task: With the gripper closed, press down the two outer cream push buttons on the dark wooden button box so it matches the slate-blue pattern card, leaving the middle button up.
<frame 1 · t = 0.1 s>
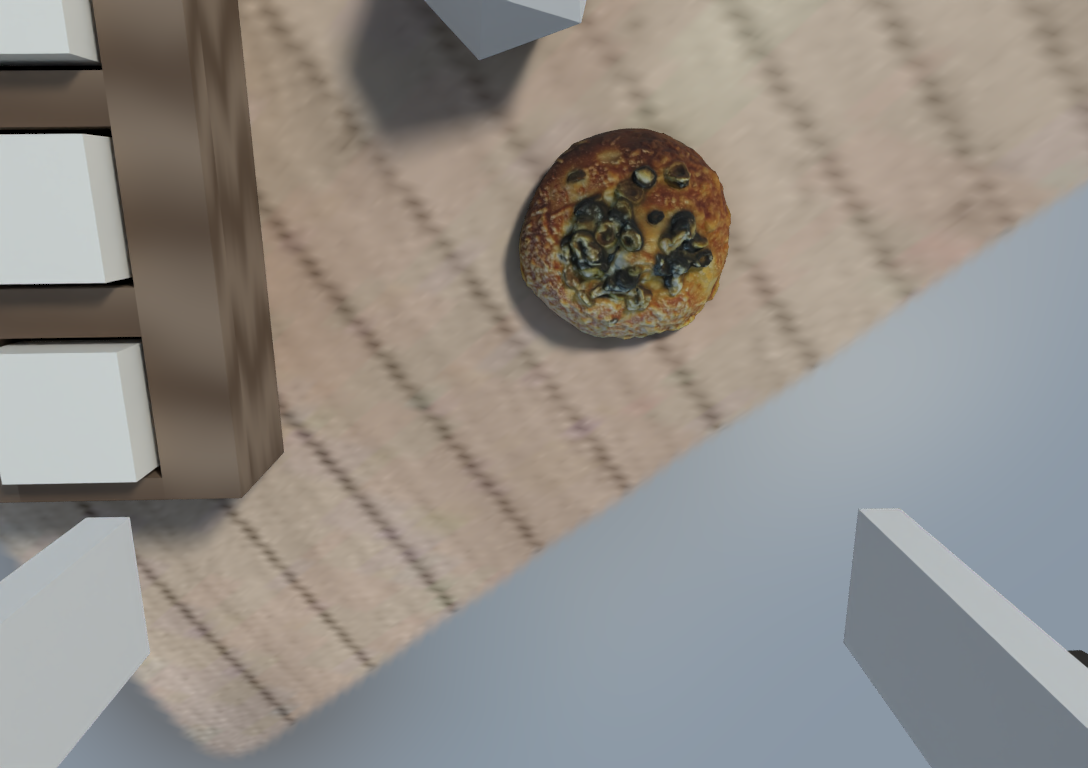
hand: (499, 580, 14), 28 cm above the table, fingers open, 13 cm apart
middle button: (43, 210, 32), point 6 cm above the table, slide at 0.0 cm
button box: (121, 206, 39), on the table
outer button: (77, 410, 35), point 6 cm above the table, slide at 0.0 cm
bread roll: (623, 239, 40), on the table
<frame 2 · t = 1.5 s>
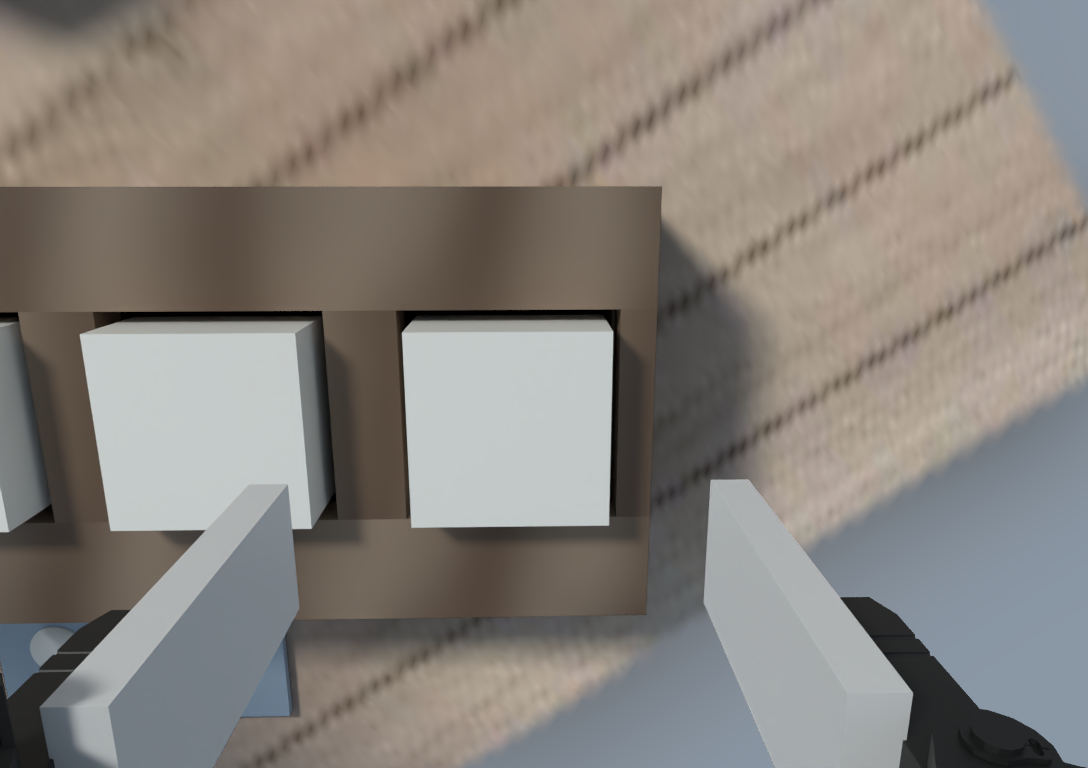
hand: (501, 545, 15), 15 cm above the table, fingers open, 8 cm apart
middle button: (220, 419, 23), point 6 cm above the table, slide at 0.0 cm
button box: (284, 371, 30), on the table
pattern card: (145, 642, 32), on the table
outer button: (510, 417, 24), point 6 cm above the table, slide at 0.0 cm
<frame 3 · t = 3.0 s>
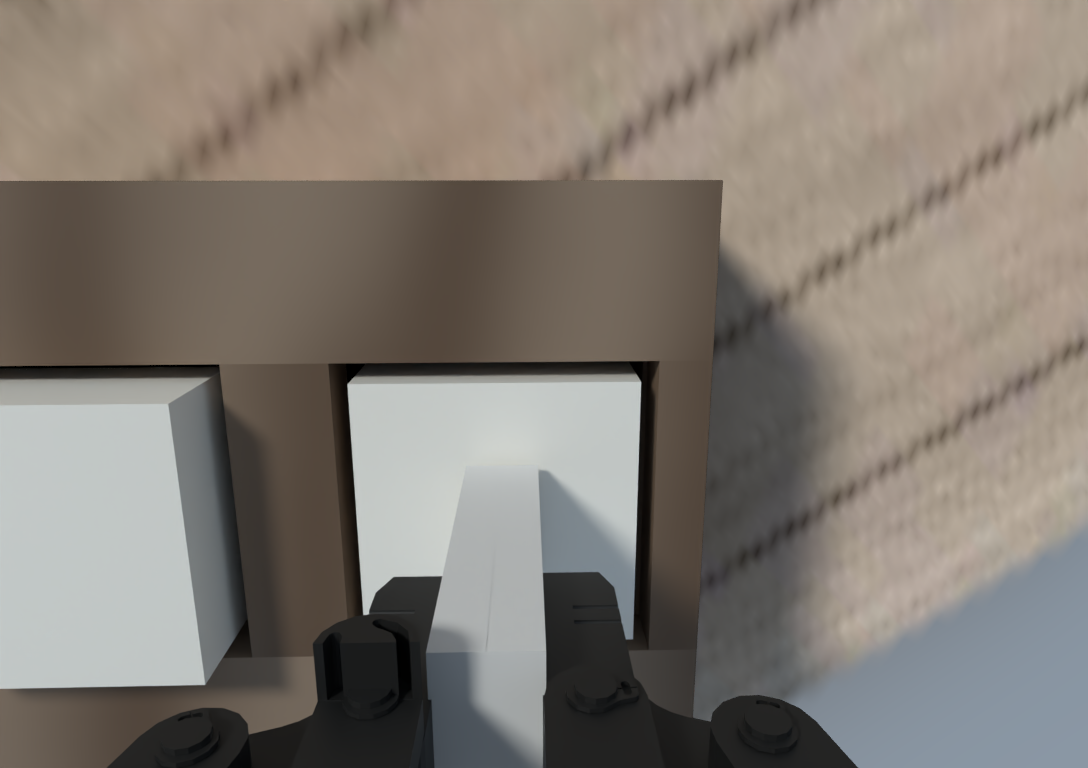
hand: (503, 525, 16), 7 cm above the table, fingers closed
middle button: (75, 520, 16), point 6 cm above the table, slide at 0.0 cm
button box: (201, 427, 22), on the table
outer button: (499, 491, 18), point 5 cm above the table, slide at 1.3 cm, touching gripper
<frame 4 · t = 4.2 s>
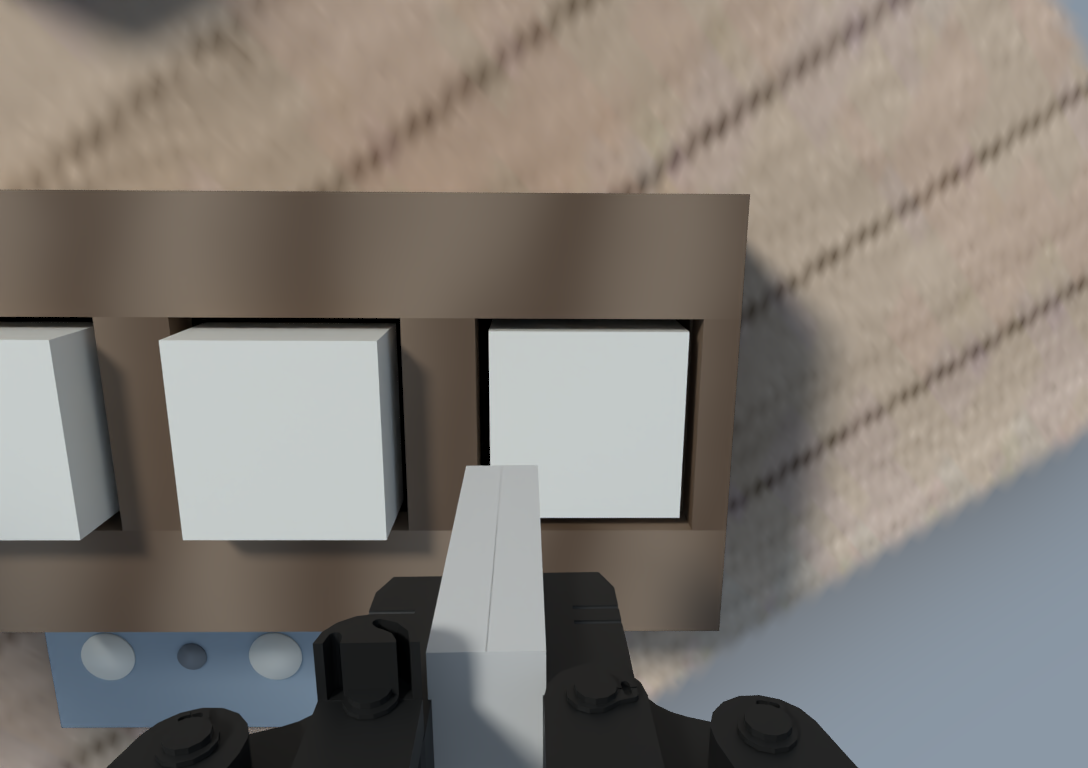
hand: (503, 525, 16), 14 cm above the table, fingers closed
middle button: (293, 428, 23), point 7 cm above the table, slide at 0.0 cm
button box: (344, 377, 29), on the table
pattern card: (196, 650, 32), on the table
outer button: (584, 413, 25), point 5 cm above the table, slide at 1.6 cm
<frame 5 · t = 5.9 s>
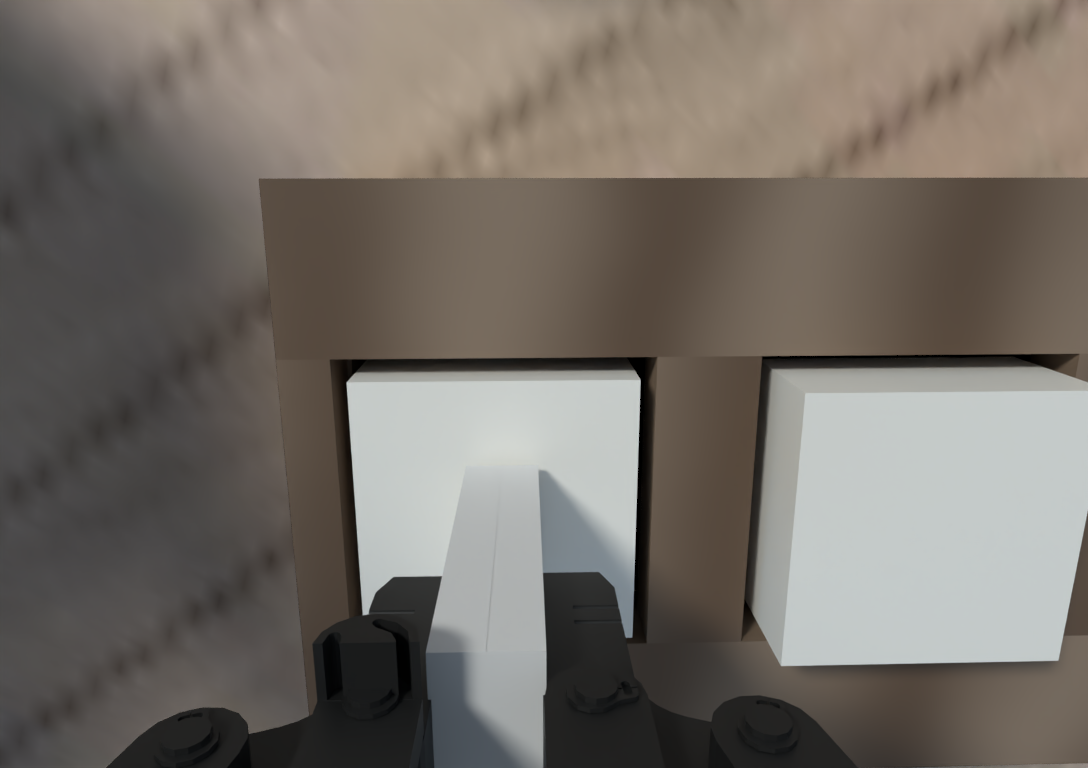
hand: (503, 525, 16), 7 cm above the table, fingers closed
middle button: (902, 504, 17), point 6 cm above the table, slide at 0.0 cm
button box: (798, 417, 23), on the table
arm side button: (498, 489, 18), point 5 cm above the table, slide at 1.1 cm, touching gripper
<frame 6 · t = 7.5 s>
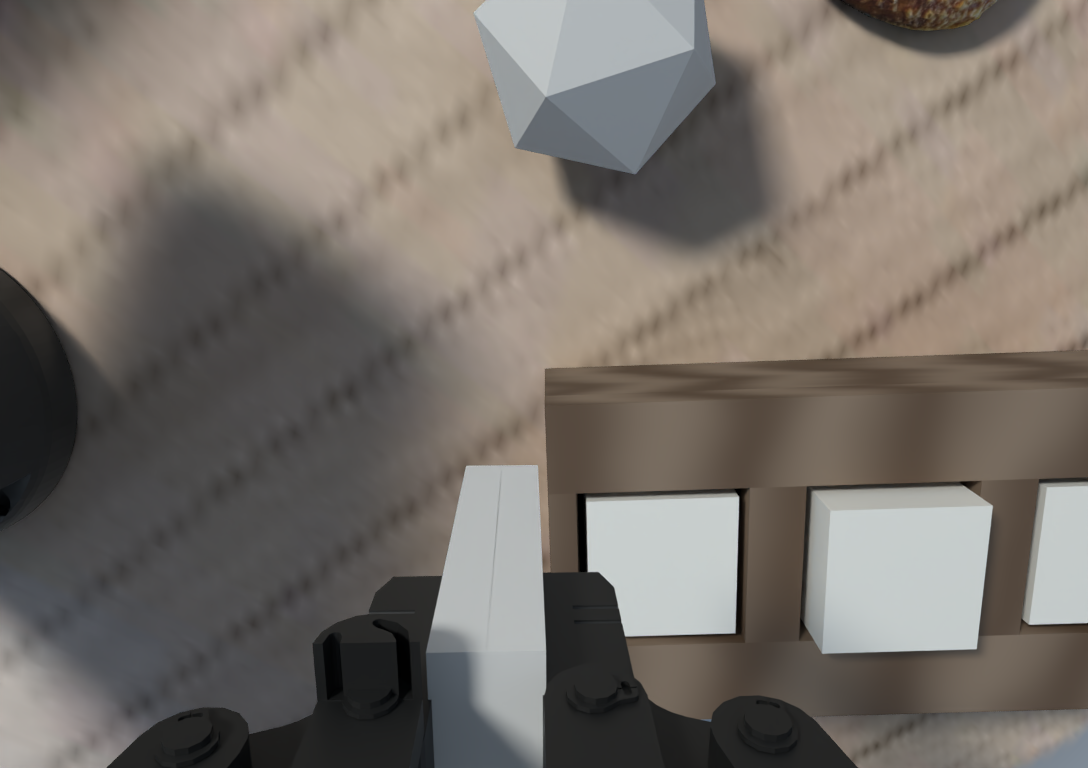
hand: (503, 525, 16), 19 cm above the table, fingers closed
middle button: (887, 563, 30), point 6 cm above the table, slide at 0.0 cm
button box: (828, 500, 36), on the table
outer button: (1087, 538, 32), point 5 cm above the table, slide at 1.6 cm
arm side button: (657, 552, 32), point 5 cm above the table, slide at 1.6 cm
die: (593, 67, 32), on the table
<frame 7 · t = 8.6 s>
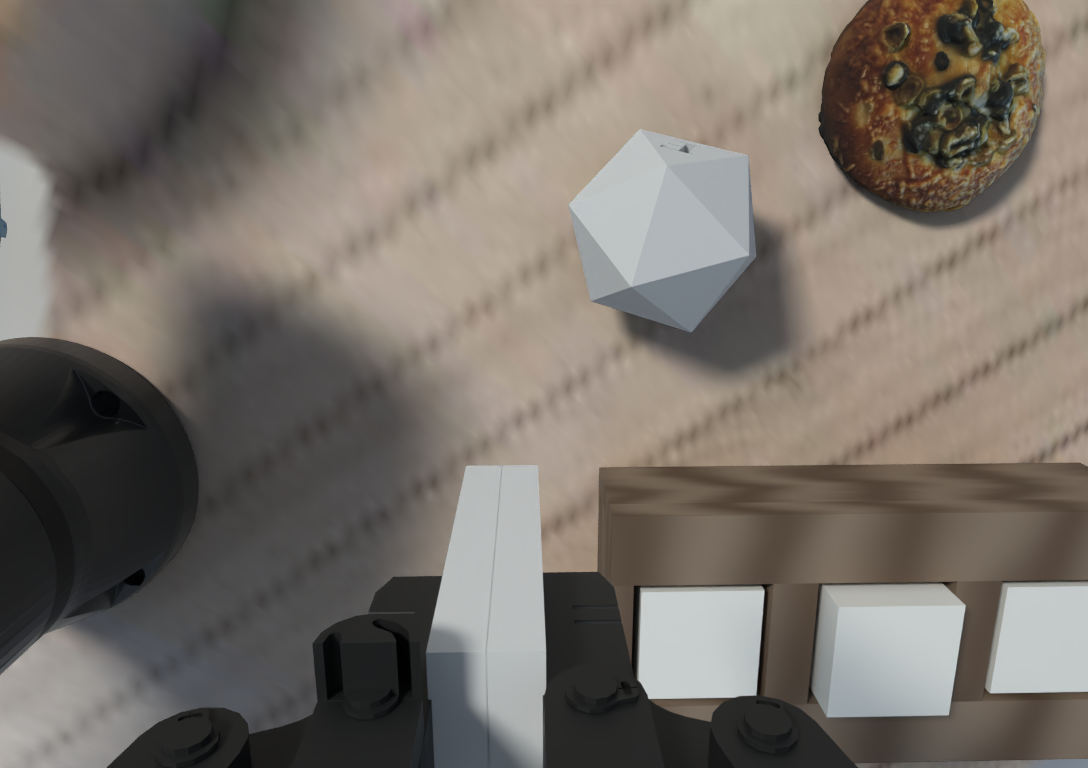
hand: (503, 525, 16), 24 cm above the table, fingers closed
middle button: (880, 644, 37), point 6 cm above the table, slide at 0.0 cm
button box: (829, 578, 44), on the table
outer button: (1038, 623, 39), point 5 cm above the table, slide at 1.6 cm
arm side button: (693, 628, 39), point 5 cm above the table, slide at 1.6 cm
die: (651, 227, 39), on the table
bread roll: (922, 96, 38), on the table
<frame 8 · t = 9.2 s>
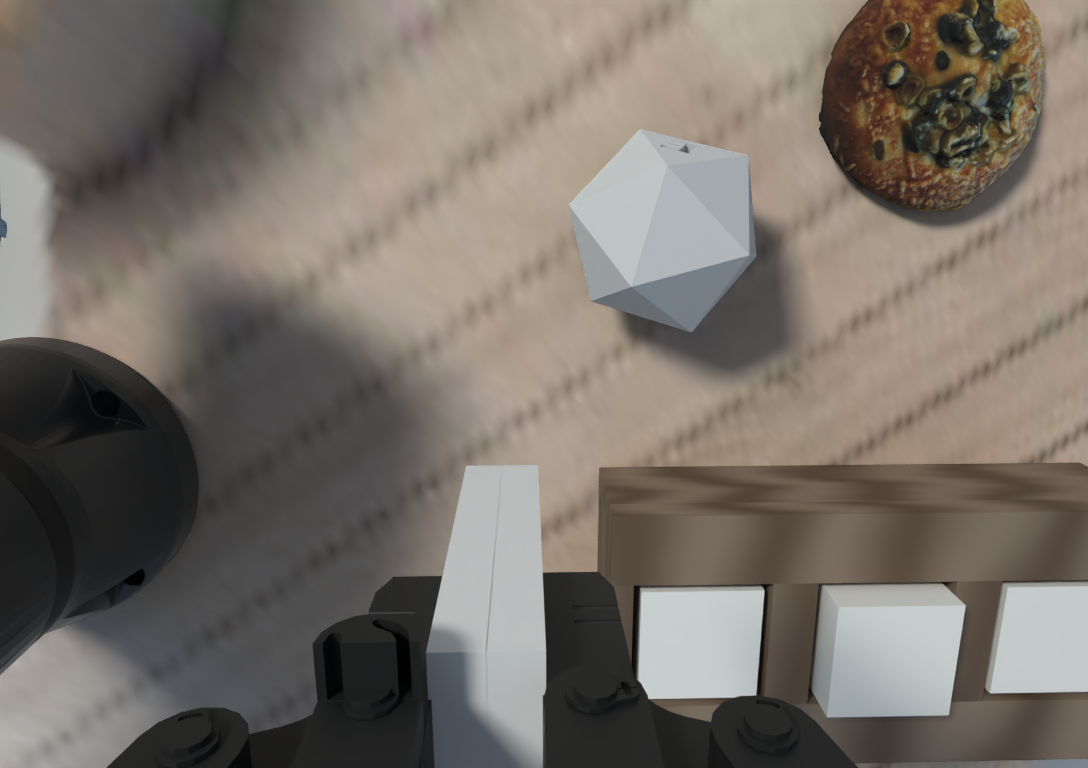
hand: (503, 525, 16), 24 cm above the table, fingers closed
middle button: (880, 644, 37), point 6 cm above the table, slide at 0.0 cm
button box: (829, 578, 44), on the table
outer button: (1038, 623, 39), point 5 cm above the table, slide at 1.6 cm
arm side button: (693, 628, 39), point 5 cm above the table, slide at 1.6 cm
die: (651, 227, 39), on the table
bread roll: (922, 96, 38), on the table
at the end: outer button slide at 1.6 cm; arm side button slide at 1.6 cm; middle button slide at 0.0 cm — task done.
